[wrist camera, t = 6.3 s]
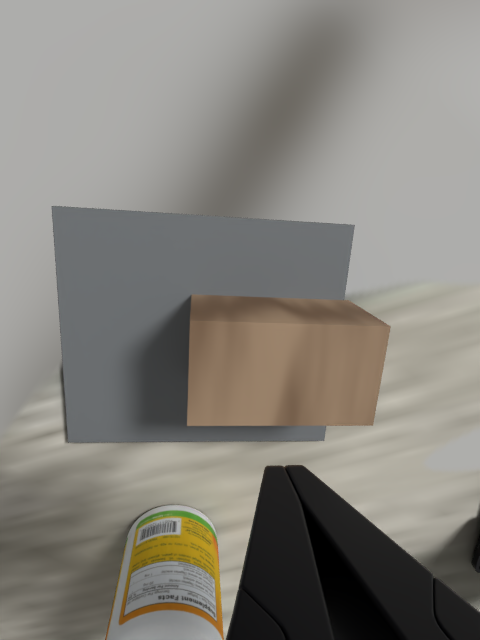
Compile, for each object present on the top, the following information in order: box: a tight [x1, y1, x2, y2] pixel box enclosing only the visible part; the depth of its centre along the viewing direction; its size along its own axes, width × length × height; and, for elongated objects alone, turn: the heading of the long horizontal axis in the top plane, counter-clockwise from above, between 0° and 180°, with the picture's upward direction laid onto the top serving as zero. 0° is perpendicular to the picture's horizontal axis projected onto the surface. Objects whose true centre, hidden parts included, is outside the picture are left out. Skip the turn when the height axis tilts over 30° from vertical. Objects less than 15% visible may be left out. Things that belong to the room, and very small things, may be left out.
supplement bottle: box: [105, 505, 224, 640], centre depth 19 cm, size 5×5×10 cm
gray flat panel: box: [52, 206, 355, 442], centre depth 20 cm, size 14×12×1 cm
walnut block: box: [187, 294, 390, 426], centre depth 18 cm, size 4×4×8 cm
